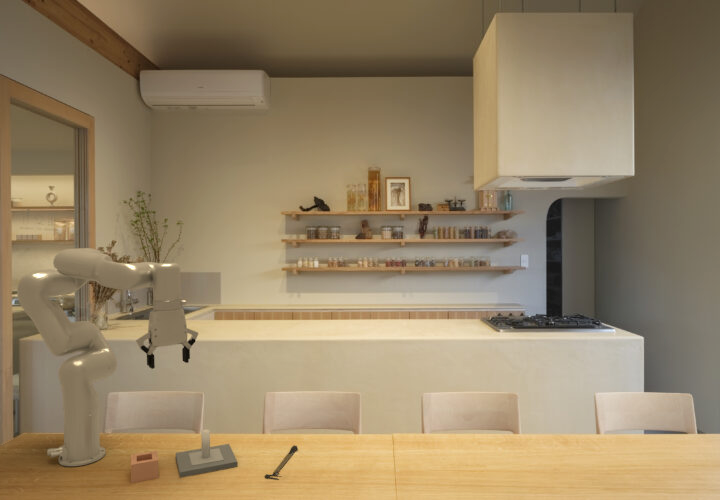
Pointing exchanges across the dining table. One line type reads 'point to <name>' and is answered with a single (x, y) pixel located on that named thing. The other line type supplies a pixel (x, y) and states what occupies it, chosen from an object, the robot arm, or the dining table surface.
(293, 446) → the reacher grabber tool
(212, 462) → the post board
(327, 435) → the dining table surface
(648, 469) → the dining table surface
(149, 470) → the collar
